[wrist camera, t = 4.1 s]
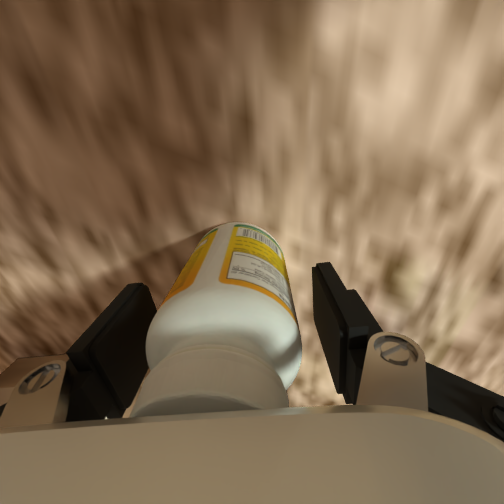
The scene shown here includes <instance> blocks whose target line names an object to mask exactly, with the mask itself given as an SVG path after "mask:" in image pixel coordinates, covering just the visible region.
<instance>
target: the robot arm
mask: <svg viewBox="0 0 504 504" xmlns="http://www.w3.org/2000/svg"><path fill="white" fill-rule="evenodd" d="M312 284H313V312H314V322H315V325H316V328H317V332H318V335H319V338H320V341H321V344H322V347H323V351H324V354H325V357H326V360H327V363H328V366H329V369H330V373H331V376H332V379H333V382H334V385H335V388H336V391H337V393H338V394H343V396H344V399H345V402H346V404H353V405H337V406H312V407H291V408H274V409H258V410H241V411H224V412H208V413H192V414H177V415H161V416H146V417H131V418H122V417H123V415H124V413H125V411H126V409H127V408H129V407H130V406H131V404H132V402H133V400H134V398H135V396H136V394H137V392H138V390H139V388H140V386H141V384H142V381H143V379H144V377H145V375H146V373H147V371H148V369H149V365H148V362H147V357H146V338H147V333H148V330H149V327H150V324H151V322H152V320H153V318H154V316H155V314H156V313H157V310H156V307H155V304H154V302H153V299H152V296H151V294H150V291H149V288H148V287H147V286H146V285H144V284H143V283H133V284H128V285H127V286H126V287H125V288H124V289H123V290H122V291H121V292H120V294H119V295H118V296H117V297H116V298H115V299H114V300H113V301H112V302H111V303H110V305H109V306H108V307H107V308H106V309H105V310H104V311H103V312H102V313H101V315H100V316H99V317H98V318H97V319H96V320H95V321H94V322H93V323H92V324H91V326H90V327H89V328H88V329H87V330H86V331H85V332H84V333H83V334H82V335H81V337H80V338H79V339H78V340H77V341H76V342H75V343H74V344H73V345H72V346H71V348H70V349H69V350H68V351H67V352H66V354H67V355H68V357H69V360H68V361H67V362H66V363H65V362H64V361H62V360H54V361H50V362H47V363H45V364H43V365H40V366H38V367H37V368H35V369H33V370H32V371H30V372H29V373H28V374H27V375H25V376H24V377H23V378H22V379H21V380H20V381H19V382H18V383H17V384H16V386H15V387H14V389H13V391H12V393H11V395H10V397H9V400H8V402H7V403H5V404H3V405H1V406H0V504H504V397H503V396H501V395H499V394H496V393H494V392H492V391H490V390H487V389H485V388H483V387H481V386H479V385H476V384H474V383H472V382H470V381H467V380H465V379H463V378H461V377H459V376H456V375H454V374H452V373H450V372H447V371H445V370H443V369H441V368H438V367H436V366H434V365H432V364H430V363H427V362H425V355H424V352H423V350H422V349H421V347H420V346H419V345H418V344H417V343H416V342H414V341H413V340H412V339H410V338H408V337H406V336H404V335H401V334H398V333H394V332H383V330H382V329H381V327H380V326H379V324H378V323H377V321H376V320H375V318H374V317H373V315H372V314H371V312H370V311H369V309H368V308H367V306H366V305H365V303H364V302H363V300H362V299H361V297H360V296H359V294H358V293H357V291H356V290H354V289H352V290H347V289H346V287H345V286H344V284H343V283H342V281H341V279H340V278H339V276H338V274H337V273H336V271H335V269H334V268H333V266H332V264H331V263H330V262H325V263H317V264H316V267H312ZM106 417H107V419H105V418H106Z"/></svg>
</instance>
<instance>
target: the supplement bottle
mask: <svg viewBox="0 0 504 504" xmlns="http://www.w3.org/2000/svg"><path fill="white" fill-rule="evenodd" d="M146 357H147V362H148V365H149V368H150V370H151V371H150V373H149V374H148V376H147V377H146V379H145V380H144V383H143V386H142V389H141V391H140V394H139V396H138V398H137V400H136V403H135V405H134V407H133V409H132V411H131V414H130V416H129V418H131V417H146V416H161V415H177V414H192V413H208V412H224V411H241V410H258V409H274V408H289V401H288V395H287V392H286V390H287V389H288V388H289V387H290V385H291V384H292V382H293V381H294V379H295V377H296V375H297V373H298V371H299V367H300V364H301V358H302V343H301V336H300V331H299V326H298V321H297V317H296V312H295V307H294V303H293V298H292V293H291V289H290V283H289V278H288V274H287V269H286V265H285V260H284V255H283V252H282V250H281V248H280V246H279V244H278V243H277V241H276V240H275V239H274V238H273V236H271V235H270V234H269V233H268V232H267V231H265V230H264V229H262V228H260V227H258V226H256V225H253V224H250V223H244V222H232V223H226V224H222V225H220V226H218V227H215V228H214V229H212V230H210V231H209V232H208V233H207V234H206V235H205V236H204V237H203V238H202V239H201V241H200V242H199V243H198V245H197V247H196V248H195V250H194V252H193V253H192V255H191V257H190V258H189V260H188V262H187V263H186V265H185V267H184V268H183V270H182V271H181V273H180V275H179V276H178V278H177V280H176V281H175V283H174V285H173V286H172V288H171V290H170V291H169V293H168V295H167V296H166V298H165V300H164V301H163V303H162V305H161V306H160V308H159V309H158V311H157V313H156V314H155V316H154V318H153V320H152V322H151V324H150V327H149V330H148V333H147V338H146Z"/></svg>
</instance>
